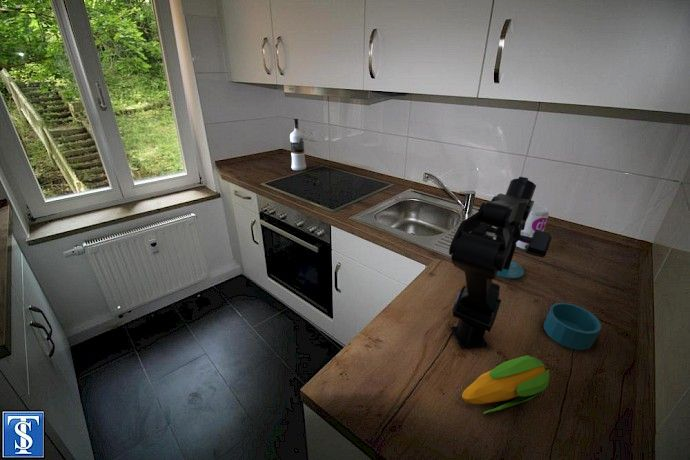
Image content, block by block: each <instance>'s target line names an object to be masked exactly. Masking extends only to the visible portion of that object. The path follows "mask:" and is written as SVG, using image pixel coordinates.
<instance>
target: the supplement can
mask: <svg viewBox="0 0 690 460" xmlns="http://www.w3.org/2000/svg"><path fill="white" fill-rule="evenodd" d="M549 216H550V214H549V209H548V208H547V207H545V206H543V205H539V204H535V203H534V204H533V207H532V209H531V212H530V214H529V216H528V218H527V221H526V223H525V228H524V230H522V232H526V233H529V234H533V233H535V230H539V231H543V232H545V231H544V230H545V227H546V225H547V222H548V219H549ZM523 236H524V235H523ZM528 237H529V236H528ZM530 238H531V237H530ZM516 244H517V245H516V247H517V248H519V249H522V250H525V249H526V247H527V245H528V243H527V242H523V241H520V240H519V241H518V242H517V243H516Z"/></svg>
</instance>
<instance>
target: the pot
mask: <svg viewBox="0 0 690 460" xmlns="http://www.w3.org/2000/svg"><path fill="white" fill-rule="evenodd" d="M543 329H544V332H545V333H546V335H547V336H549V338H551V339H552V340H553V341H554V342H556V343H557V344H559V345H561V346H563V347H565V348H568V349H571V350H577V351H584V350H585V351H586V350H588V349H590V348H591V347H592V346H593V345H594V343H595V341H596V340H597V338H598V336H599V334H600V332H601V331H602V323H601V321H600V320H599V318H598V317H597V316H596V315H594V314H593V313H592V312H591V311H590V310H587V309H586V308H584V307H581V306H580V305H579V306H578V305H576V304H573V303H567V302H556V303H554V304H552V305H550V308H549V311H548V312H547V315H546V318H545V320H544V323H543Z"/></svg>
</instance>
